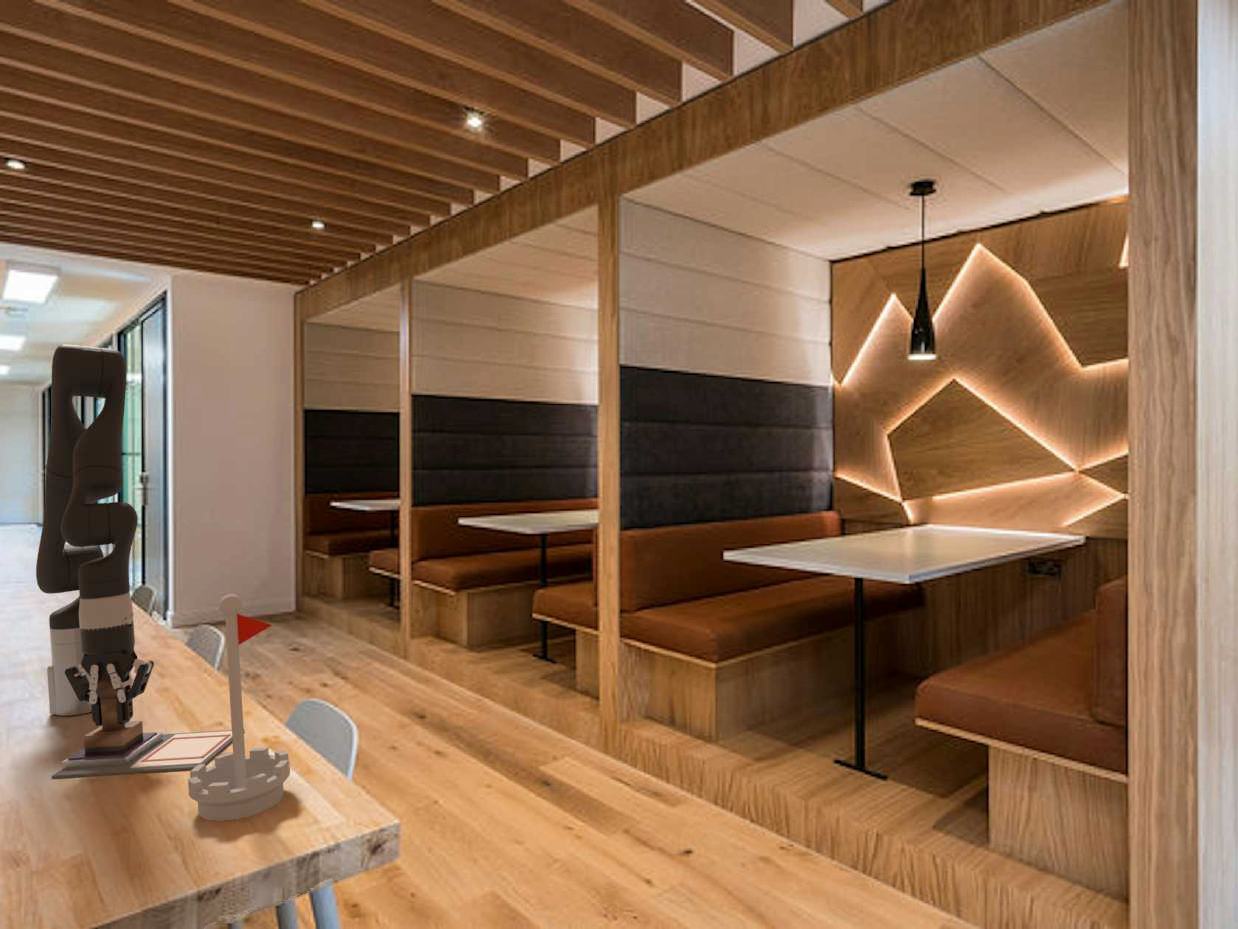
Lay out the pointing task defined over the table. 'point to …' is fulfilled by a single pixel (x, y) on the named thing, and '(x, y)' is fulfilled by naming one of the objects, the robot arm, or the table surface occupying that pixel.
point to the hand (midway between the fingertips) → (113, 722)
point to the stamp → (111, 724)
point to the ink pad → (112, 754)
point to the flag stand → (238, 745)
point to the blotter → (165, 755)
